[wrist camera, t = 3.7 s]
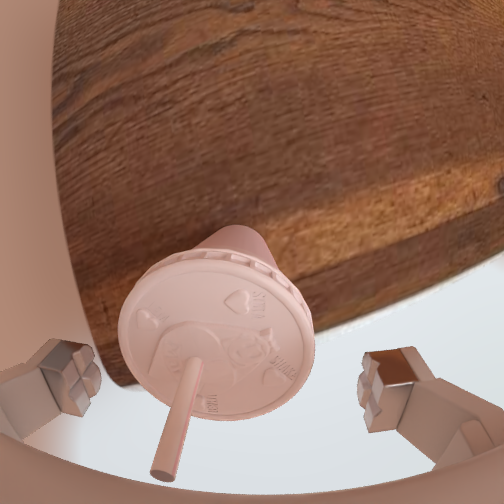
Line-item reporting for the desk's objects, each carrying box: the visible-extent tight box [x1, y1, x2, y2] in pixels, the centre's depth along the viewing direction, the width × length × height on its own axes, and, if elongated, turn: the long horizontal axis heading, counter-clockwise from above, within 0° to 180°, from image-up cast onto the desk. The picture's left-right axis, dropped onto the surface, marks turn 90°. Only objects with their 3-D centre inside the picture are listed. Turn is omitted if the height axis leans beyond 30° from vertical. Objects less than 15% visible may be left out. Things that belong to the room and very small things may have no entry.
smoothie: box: [118, 225, 315, 482], centre depth 12 cm, size 6×6×14 cm
